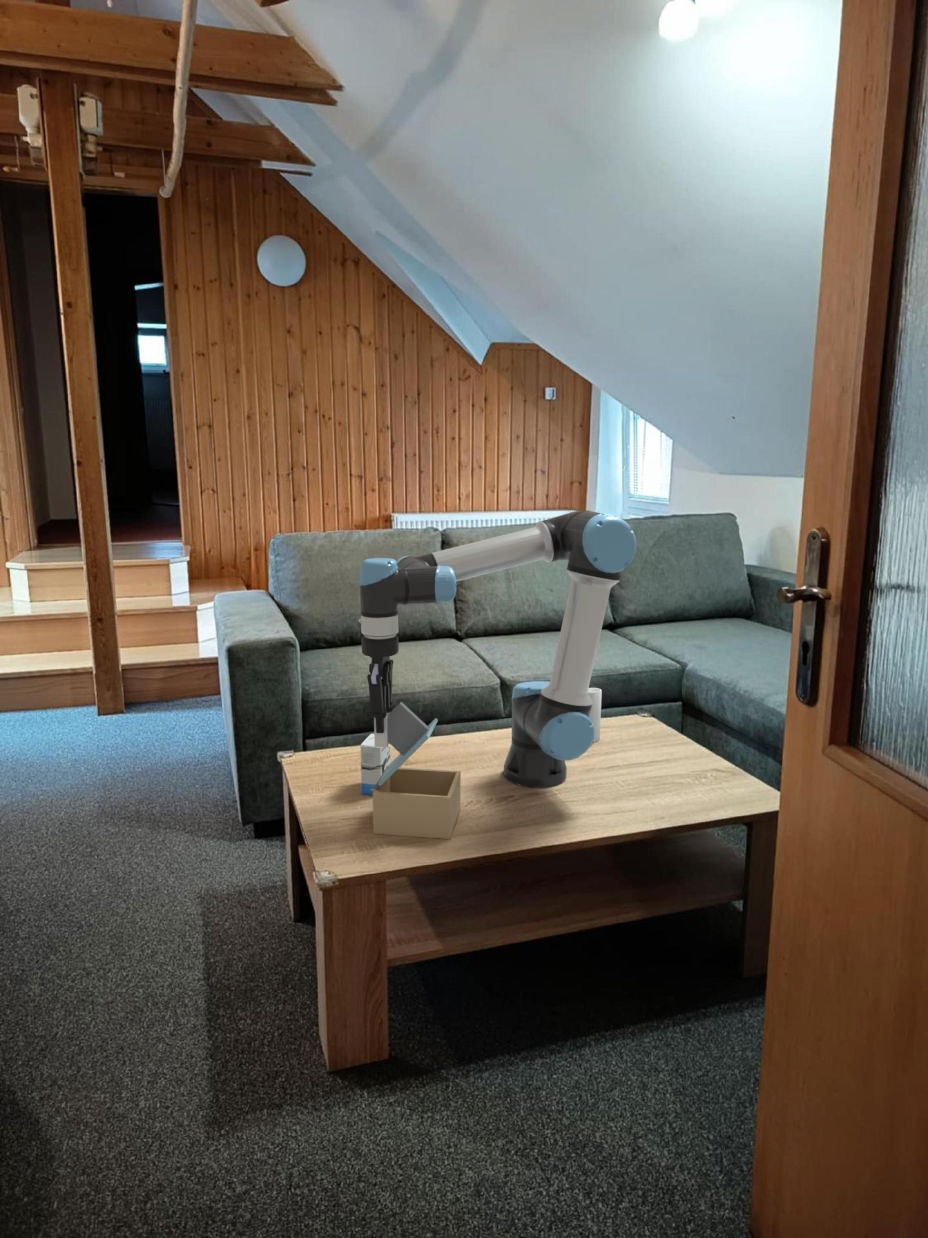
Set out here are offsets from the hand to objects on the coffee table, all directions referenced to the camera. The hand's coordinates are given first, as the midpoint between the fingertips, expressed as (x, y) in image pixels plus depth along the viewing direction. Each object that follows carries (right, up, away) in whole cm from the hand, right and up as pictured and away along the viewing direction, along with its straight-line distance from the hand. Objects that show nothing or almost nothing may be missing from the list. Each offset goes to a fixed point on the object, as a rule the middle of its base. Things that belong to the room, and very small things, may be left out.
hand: (382, 744), depth 178 cm
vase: (+48, -6, +52) cm, 71 cm away
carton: (+7, -17, +3) cm, 18 cm away
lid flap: (+5, -2, 0) cm, 6 cm away
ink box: (-3, -13, +20) cm, 24 cm away
